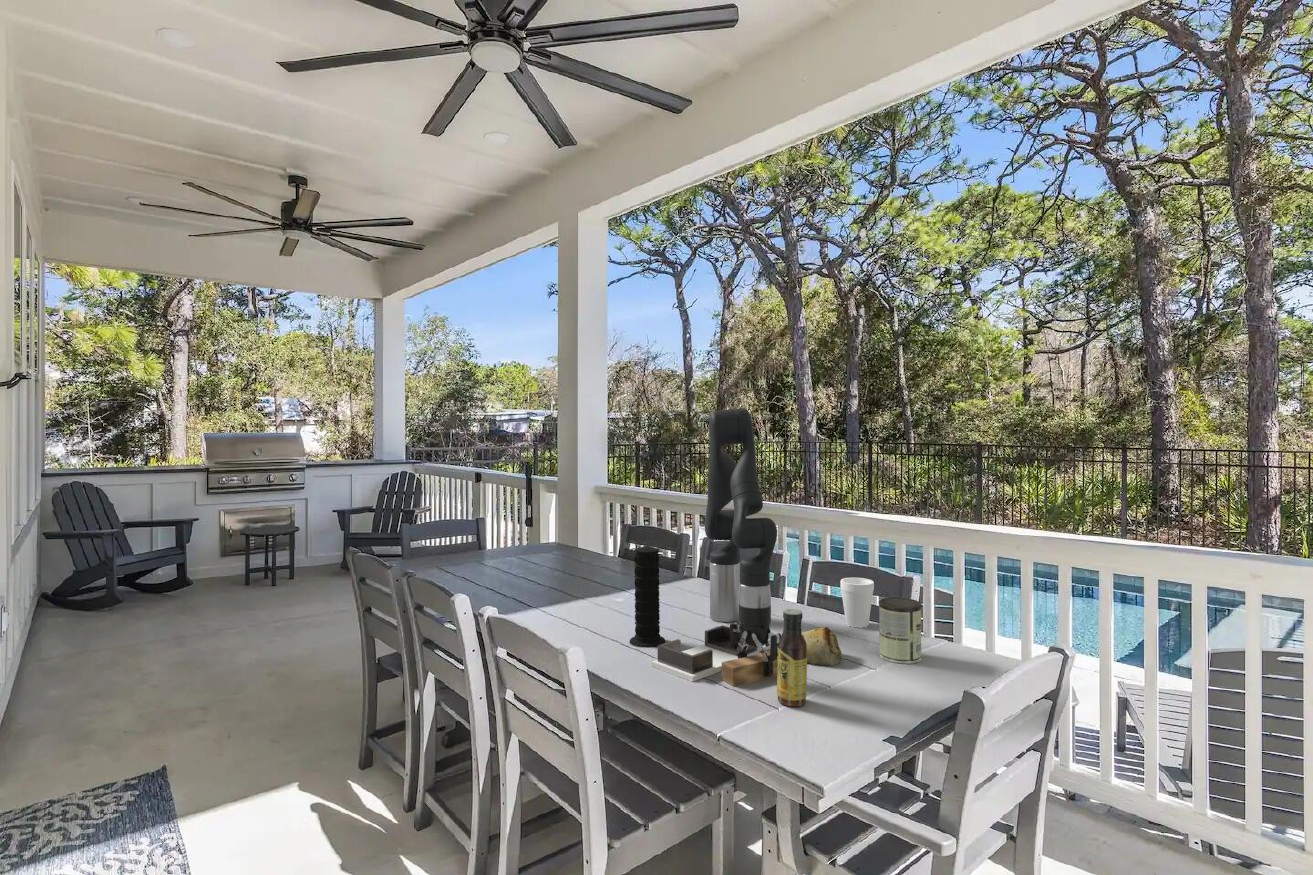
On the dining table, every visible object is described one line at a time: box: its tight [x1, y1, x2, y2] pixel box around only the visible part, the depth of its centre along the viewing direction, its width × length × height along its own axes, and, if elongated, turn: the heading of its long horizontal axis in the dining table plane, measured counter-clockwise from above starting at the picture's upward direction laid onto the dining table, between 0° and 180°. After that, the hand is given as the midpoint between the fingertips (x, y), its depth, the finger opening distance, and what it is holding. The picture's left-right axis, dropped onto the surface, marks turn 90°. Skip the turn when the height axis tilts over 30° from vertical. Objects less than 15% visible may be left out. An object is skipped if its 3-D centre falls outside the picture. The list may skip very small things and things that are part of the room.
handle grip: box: [629, 545, 667, 648], centre depth 188 cm, size 10×26×10 cm
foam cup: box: [840, 577, 875, 629], centre depth 202 cm, size 10×9×13 cm
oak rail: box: [721, 654, 777, 687], centre depth 162 cm, size 16×4×4 cm, turn 120°
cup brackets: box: [657, 624, 758, 674], centre depth 173 cm, size 24×12×4 cm, turn 133°
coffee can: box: [878, 596, 923, 665], centre depth 175 cm, size 10×10×14 cm
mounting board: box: [651, 643, 761, 682], centre depth 173 cm, size 26×14×1 cm, turn 133°
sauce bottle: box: [776, 608, 808, 708], centre depth 147 cm, size 7×6×20 cm
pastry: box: [801, 626, 843, 667], centre depth 175 cm, size 14×12×8 cm
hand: (755, 671), depth 162 cm, fingers open, 7 cm apart
